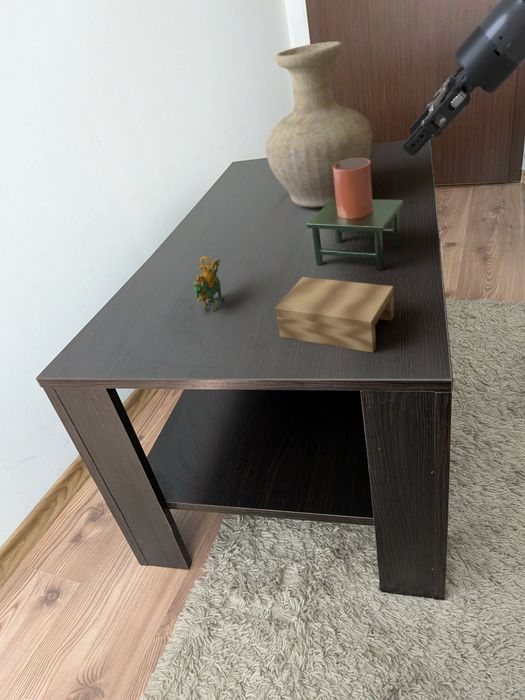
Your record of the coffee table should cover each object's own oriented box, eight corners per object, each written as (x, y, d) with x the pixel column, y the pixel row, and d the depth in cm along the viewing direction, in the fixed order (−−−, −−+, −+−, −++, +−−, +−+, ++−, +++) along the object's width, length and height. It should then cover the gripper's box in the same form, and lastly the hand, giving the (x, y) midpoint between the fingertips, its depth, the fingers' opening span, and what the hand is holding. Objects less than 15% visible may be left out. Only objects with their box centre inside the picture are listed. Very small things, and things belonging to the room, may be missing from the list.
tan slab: (394, 316, 73) (393, 286, 70) (373, 352, 67) (371, 321, 64) (306, 304, 80) (302, 276, 77) (280, 337, 74) (274, 308, 71)
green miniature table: (403, 243, 91) (403, 199, 86) (383, 272, 84) (382, 227, 79) (336, 239, 97) (332, 198, 93) (312, 266, 90) (306, 223, 85)
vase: (397, 196, 109) (393, 34, 92) (307, 230, 103) (285, 63, 86) (338, 175, 126) (325, 36, 109) (258, 204, 120) (232, 60, 103)
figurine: (194, 321, 82) (181, 276, 77) (217, 283, 91) (206, 241, 86) (212, 321, 81) (199, 275, 76) (233, 283, 90) (223, 240, 86)
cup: (376, 214, 83) (374, 165, 79) (340, 221, 84) (336, 172, 79) (368, 202, 88) (366, 154, 84) (334, 208, 89) (329, 162, 84)
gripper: (481, 15, 70) (397, 113, 81) (480, 30, 60) (384, 140, 71) (519, 53, 72) (432, 144, 82) (525, 73, 61) (424, 175, 72)
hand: (410, 142), depth 76 cm, fingers open, 8 cm apart
